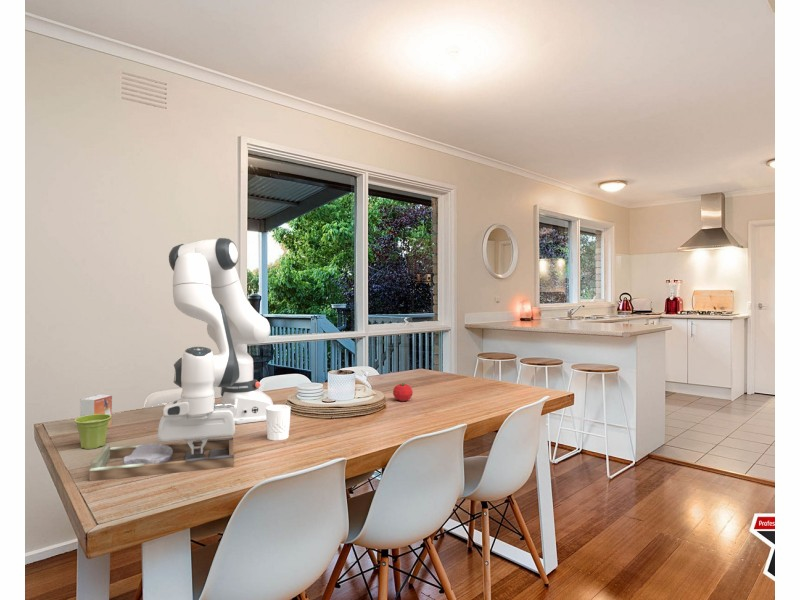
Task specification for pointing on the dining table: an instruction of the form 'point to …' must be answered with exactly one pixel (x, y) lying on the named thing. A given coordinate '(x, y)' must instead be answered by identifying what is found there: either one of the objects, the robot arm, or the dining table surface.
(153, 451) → the stone block
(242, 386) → the robot arm
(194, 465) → the box
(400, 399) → the tomato
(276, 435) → the white cup
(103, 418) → the plant pot
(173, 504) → the dining table surface
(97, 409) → the small box
